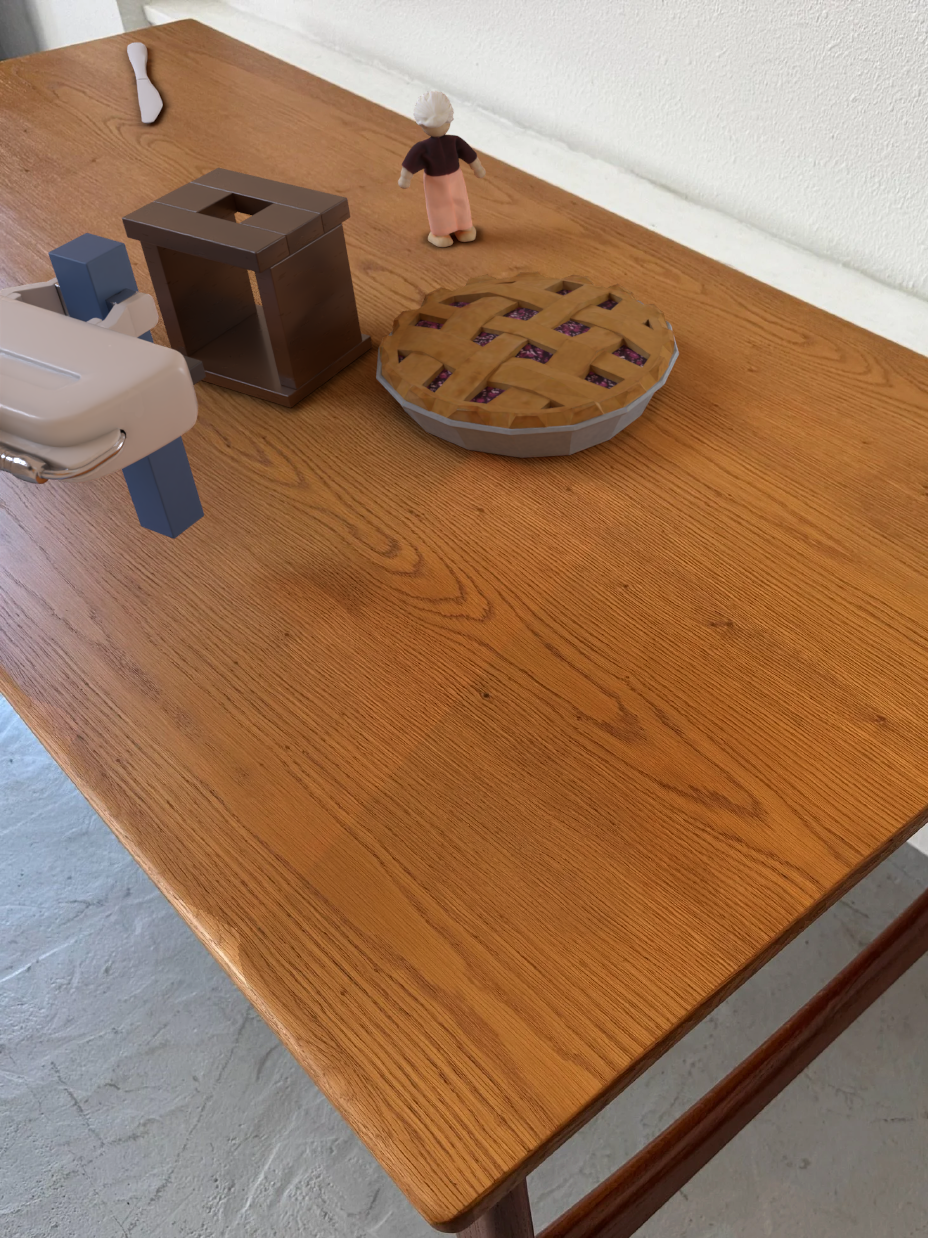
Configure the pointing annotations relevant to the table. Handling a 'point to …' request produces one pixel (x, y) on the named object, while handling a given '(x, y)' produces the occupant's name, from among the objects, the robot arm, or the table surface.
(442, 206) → the grandmother figurine
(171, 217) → the stand
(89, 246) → the peg
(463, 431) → the pie
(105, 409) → the robot arm
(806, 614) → the table surface
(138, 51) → the butter knife
